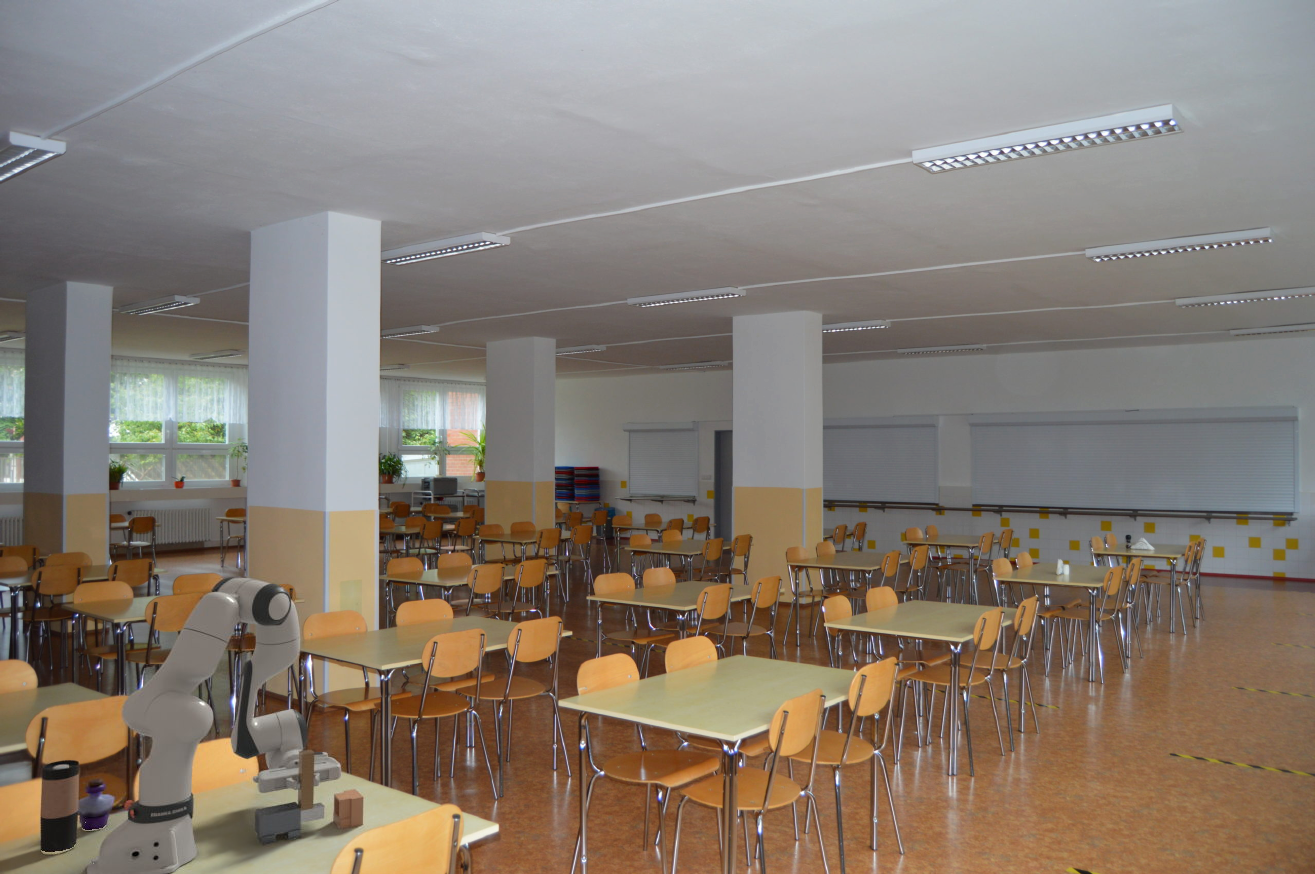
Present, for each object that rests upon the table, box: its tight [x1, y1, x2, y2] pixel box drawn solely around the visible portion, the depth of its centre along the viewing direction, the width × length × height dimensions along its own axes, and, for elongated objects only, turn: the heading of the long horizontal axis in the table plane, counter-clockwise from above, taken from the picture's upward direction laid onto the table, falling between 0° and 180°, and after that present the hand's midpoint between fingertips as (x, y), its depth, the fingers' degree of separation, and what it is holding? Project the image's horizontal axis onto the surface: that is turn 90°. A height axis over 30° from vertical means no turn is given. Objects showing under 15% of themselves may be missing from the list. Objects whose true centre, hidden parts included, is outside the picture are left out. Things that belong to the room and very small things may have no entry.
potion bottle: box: [78, 778, 116, 830], centre depth 233 cm, size 9×9×12 cm
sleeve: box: [254, 801, 302, 847], centre depth 228 cm, size 10×6×7 cm, turn 125°
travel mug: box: [39, 759, 80, 852], centre depth 221 cm, size 8×8×20 cm
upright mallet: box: [297, 749, 325, 824], centre depth 231 cm, size 14×3×17 cm, turn 125°
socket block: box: [332, 788, 364, 830], centre depth 238 cm, size 6×7×7 cm
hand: (307, 784), depth 232 cm, fingers closed on upright mallet, 3 cm apart
